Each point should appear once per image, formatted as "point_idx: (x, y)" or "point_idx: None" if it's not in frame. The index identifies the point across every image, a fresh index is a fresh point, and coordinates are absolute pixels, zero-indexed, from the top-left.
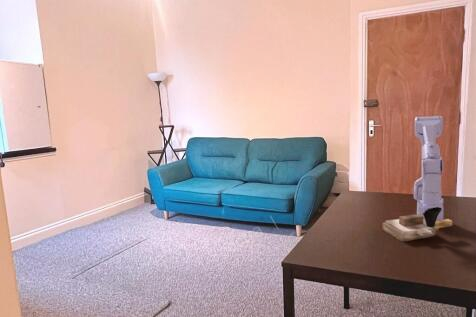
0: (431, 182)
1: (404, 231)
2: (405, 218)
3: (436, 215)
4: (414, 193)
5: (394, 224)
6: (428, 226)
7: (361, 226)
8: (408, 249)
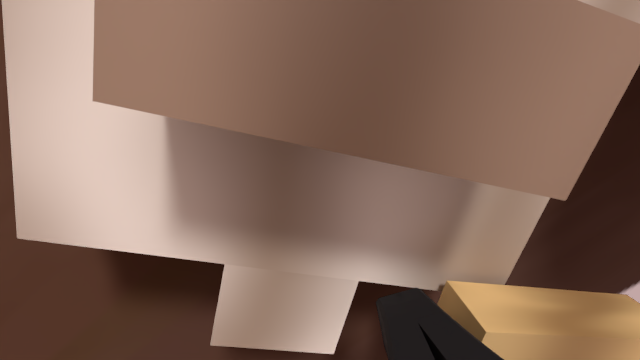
0: None
1: (32, 231)
2: (157, 91)
3: None
4: None
5: None
6: (380, 316)
7: None
8: (47, 289)
